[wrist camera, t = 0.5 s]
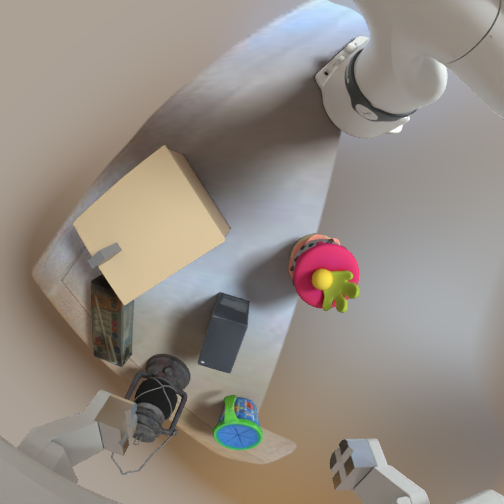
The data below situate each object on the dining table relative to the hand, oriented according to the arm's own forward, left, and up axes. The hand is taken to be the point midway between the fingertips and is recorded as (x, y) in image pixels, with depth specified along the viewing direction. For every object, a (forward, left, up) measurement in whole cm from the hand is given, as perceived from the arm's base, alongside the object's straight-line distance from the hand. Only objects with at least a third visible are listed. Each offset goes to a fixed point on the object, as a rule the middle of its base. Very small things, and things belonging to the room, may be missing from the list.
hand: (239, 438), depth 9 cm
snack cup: (+38, +18, -44) cm, 61 cm away
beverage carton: (+31, -17, -44) cm, 57 cm away
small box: (+18, +4, -44) cm, 48 cm away
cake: (-1, +12, -44) cm, 46 cm away
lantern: (+38, -1, -44) cm, 58 cm away
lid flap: (+7, -16, -34) cm, 38 cm away
